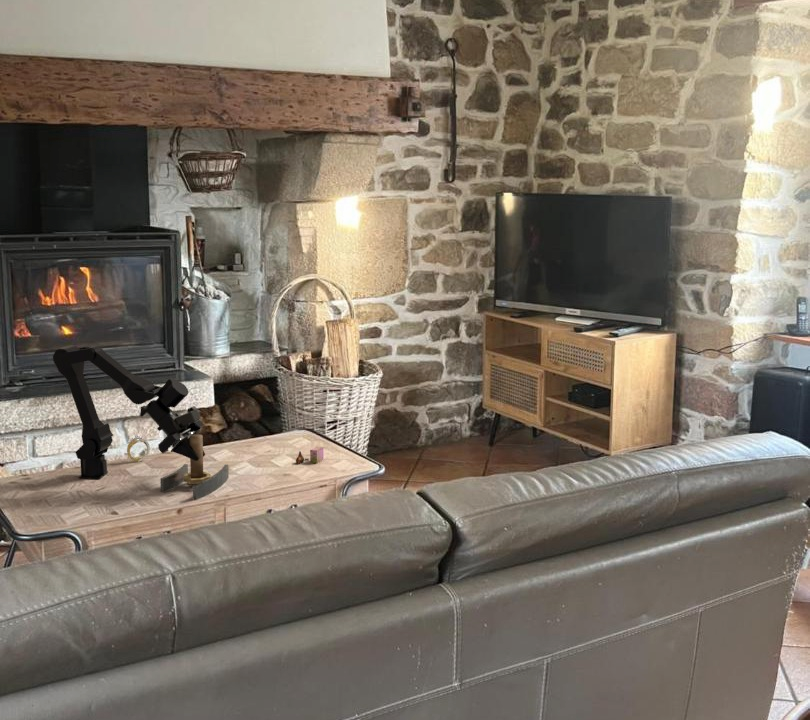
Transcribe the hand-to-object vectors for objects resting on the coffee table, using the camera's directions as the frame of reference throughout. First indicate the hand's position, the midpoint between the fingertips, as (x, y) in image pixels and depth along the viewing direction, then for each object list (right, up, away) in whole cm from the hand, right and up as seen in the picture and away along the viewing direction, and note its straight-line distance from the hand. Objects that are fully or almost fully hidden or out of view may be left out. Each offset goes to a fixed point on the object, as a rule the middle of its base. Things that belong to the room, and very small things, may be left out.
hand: (201, 458), depth 278 cm
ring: (-25, -4, +25) cm, 35 cm away
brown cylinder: (-1, -6, +2) cm, 7 cm away
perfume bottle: (+30, -5, +25) cm, 39 cm away
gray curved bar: (-2, -9, 0) cm, 9 cm away
